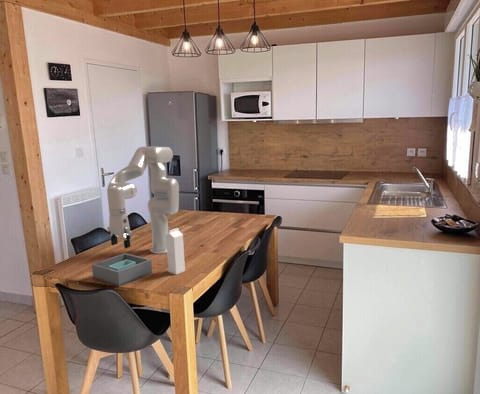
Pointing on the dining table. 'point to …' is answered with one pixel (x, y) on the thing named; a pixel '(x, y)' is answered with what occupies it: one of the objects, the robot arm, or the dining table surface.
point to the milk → (175, 251)
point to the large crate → (125, 275)
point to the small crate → (122, 265)
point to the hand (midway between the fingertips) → (121, 245)
